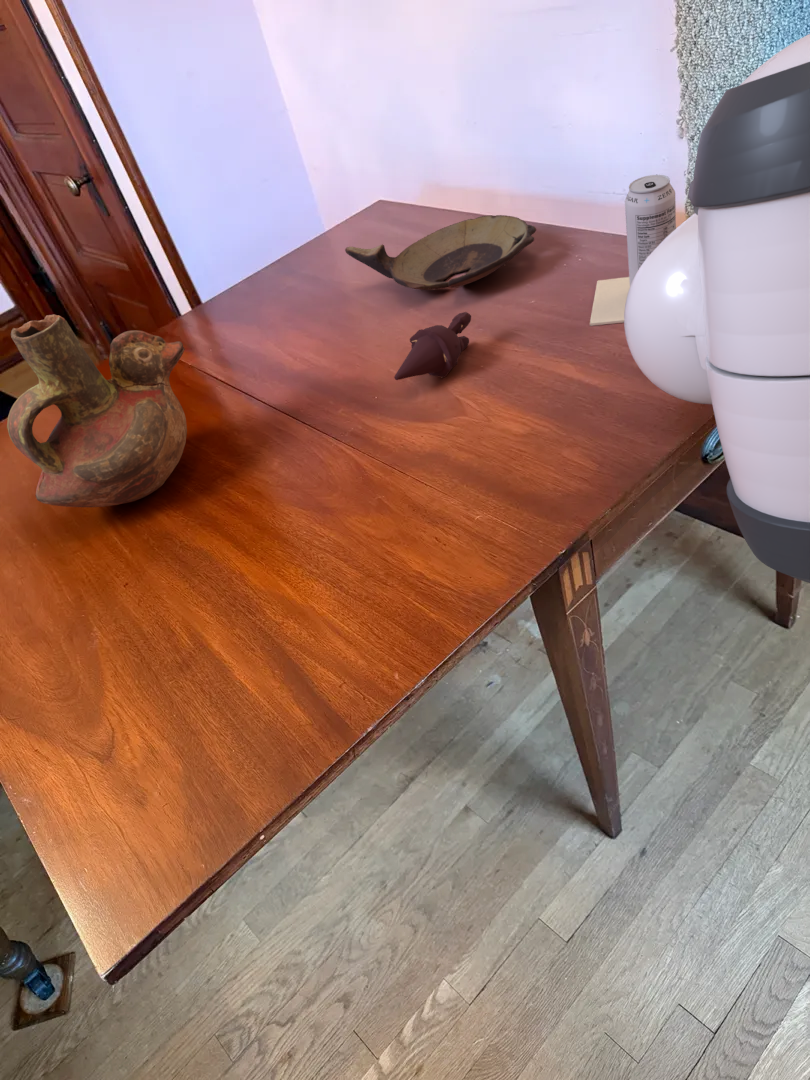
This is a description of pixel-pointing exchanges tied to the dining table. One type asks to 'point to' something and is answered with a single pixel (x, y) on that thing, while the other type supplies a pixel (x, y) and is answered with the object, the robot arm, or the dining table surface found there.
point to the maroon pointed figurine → (435, 349)
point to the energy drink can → (648, 217)
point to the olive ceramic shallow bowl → (452, 252)
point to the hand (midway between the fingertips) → (731, 146)
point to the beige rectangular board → (610, 301)
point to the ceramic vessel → (99, 415)
